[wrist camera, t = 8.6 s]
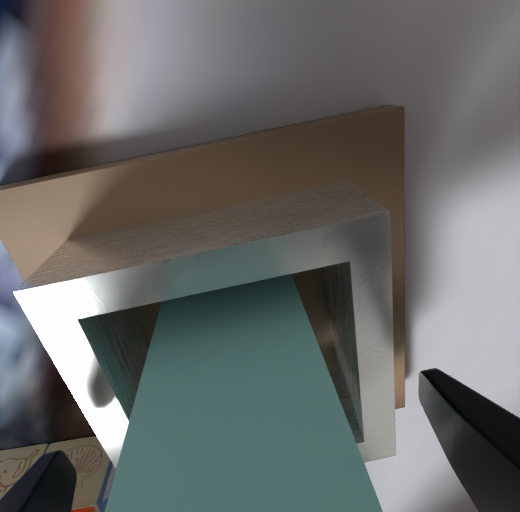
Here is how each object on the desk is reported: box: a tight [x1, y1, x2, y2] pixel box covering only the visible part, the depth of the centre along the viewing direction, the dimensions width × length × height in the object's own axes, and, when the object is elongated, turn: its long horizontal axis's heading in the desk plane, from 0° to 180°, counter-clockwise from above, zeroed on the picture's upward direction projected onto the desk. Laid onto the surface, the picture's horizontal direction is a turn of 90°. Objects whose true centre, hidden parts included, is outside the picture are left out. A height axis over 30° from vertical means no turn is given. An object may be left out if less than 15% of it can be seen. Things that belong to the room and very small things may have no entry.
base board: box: [0, 105, 405, 409], centre depth 13 cm, size 12×12×1 cm
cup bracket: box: [13, 181, 396, 468], centre depth 11 cm, size 8×8×3 cm
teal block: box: [105, 274, 383, 512], centre depth 9 cm, size 4×4×8 cm
